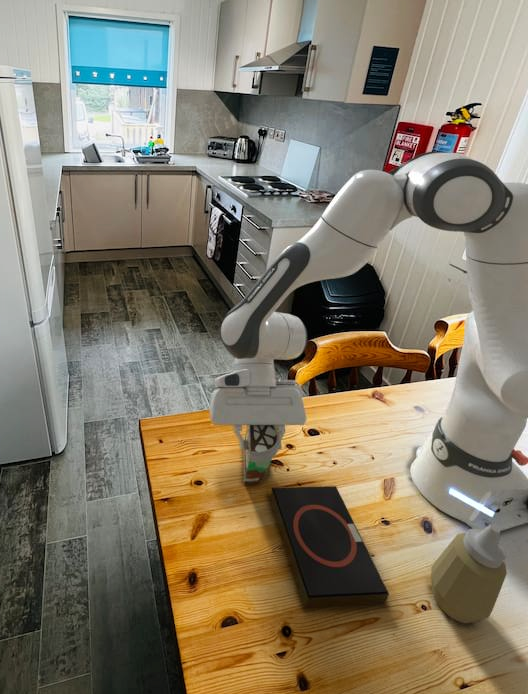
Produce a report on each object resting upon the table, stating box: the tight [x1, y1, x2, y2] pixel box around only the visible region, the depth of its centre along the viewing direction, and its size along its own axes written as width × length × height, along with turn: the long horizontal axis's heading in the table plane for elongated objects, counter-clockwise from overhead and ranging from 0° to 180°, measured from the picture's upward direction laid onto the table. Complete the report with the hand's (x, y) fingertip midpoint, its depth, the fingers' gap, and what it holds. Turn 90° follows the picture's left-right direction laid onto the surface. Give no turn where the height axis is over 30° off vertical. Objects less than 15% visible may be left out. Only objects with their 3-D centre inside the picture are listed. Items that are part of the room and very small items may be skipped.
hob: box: [269, 485, 390, 609], centre depth 69 cm, size 13×18×3 cm
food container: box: [243, 425, 280, 485], centre depth 82 cm, size 12×6×10 cm, turn 170°
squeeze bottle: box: [430, 524, 507, 624], centre depth 59 cm, size 8×8×18 cm
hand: (260, 449), depth 81 cm, fingers closed on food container, 5 cm apart
